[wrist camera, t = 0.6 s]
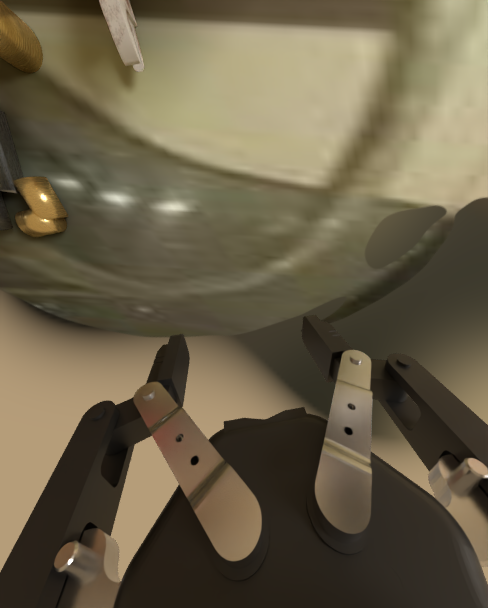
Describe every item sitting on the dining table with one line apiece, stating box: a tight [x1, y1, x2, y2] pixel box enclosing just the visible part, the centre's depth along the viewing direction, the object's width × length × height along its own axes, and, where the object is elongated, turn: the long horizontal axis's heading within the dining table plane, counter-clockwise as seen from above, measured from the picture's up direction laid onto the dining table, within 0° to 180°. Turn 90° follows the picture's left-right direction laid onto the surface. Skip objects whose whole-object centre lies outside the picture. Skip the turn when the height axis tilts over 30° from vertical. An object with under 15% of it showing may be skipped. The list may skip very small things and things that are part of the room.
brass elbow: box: [13, 177, 68, 237], centre depth 29 cm, size 7×4×6 cm
